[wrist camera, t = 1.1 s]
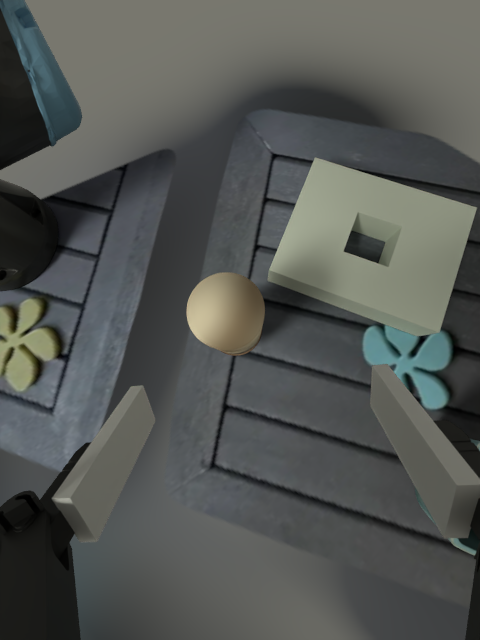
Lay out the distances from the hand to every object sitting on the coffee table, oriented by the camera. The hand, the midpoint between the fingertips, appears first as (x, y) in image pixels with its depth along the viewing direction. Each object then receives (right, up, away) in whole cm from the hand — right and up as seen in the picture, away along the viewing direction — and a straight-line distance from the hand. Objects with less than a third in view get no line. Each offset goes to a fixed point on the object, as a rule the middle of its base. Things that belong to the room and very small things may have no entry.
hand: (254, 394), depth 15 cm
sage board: (+15, +13, +20) cm, 28 cm away
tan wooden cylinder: (-1, +3, +19) cm, 19 cm away
